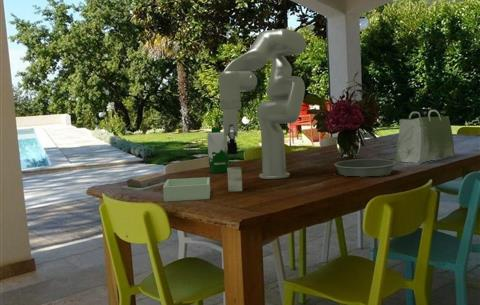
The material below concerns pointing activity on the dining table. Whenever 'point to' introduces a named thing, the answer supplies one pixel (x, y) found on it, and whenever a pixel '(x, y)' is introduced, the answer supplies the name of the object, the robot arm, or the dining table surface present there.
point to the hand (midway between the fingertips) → (232, 152)
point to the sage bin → (186, 189)
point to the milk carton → (217, 151)
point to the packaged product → (145, 182)
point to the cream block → (234, 179)
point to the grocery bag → (424, 139)
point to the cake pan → (365, 167)
